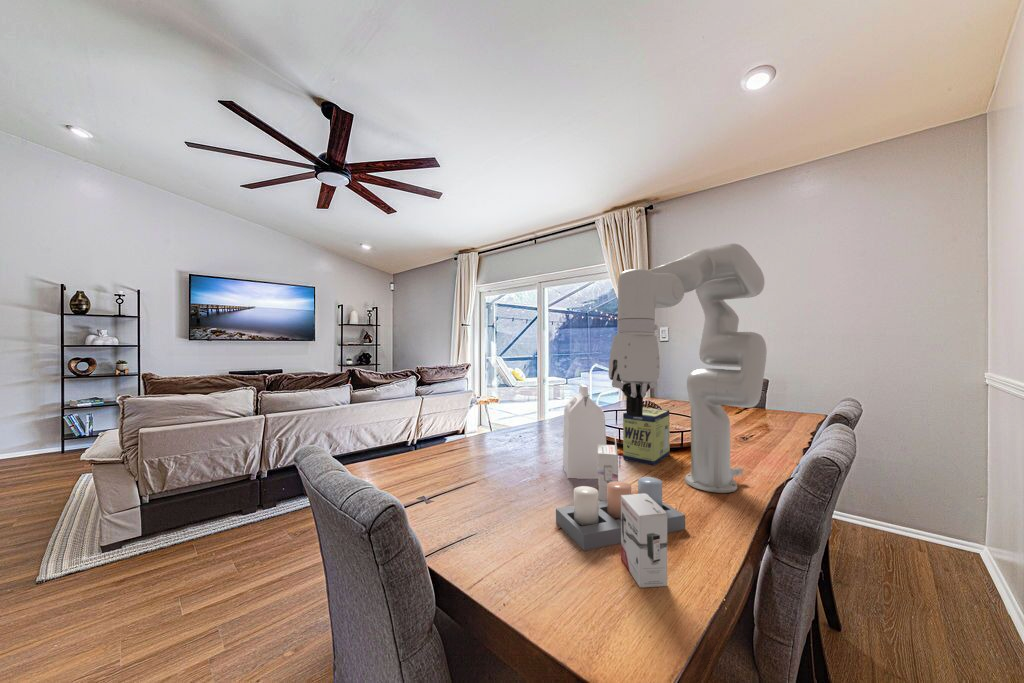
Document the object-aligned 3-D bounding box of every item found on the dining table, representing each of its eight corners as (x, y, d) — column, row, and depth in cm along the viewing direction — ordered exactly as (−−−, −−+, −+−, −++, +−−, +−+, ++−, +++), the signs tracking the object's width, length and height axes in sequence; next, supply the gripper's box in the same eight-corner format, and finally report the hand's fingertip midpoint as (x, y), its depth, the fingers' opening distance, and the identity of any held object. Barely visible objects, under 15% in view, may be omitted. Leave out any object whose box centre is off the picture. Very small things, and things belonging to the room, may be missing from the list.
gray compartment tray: (647, 505, 90) (646, 493, 90) (685, 529, 78) (685, 514, 78) (555, 522, 82) (555, 508, 82) (583, 551, 71) (583, 535, 71)
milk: (608, 478, 108) (607, 387, 108) (567, 478, 108) (567, 388, 108) (598, 464, 120) (598, 383, 120) (562, 465, 120) (562, 383, 120)
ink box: (619, 557, 68) (619, 493, 68) (645, 556, 69) (645, 492, 69) (639, 589, 60) (639, 515, 60) (669, 587, 60) (668, 513, 60)
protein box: (622, 459, 125) (622, 412, 125) (640, 449, 137) (640, 406, 137) (654, 466, 118) (654, 416, 118) (670, 454, 130) (670, 409, 130)
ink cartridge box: (597, 487, 101) (596, 432, 101) (616, 488, 100) (616, 433, 100) (598, 500, 93) (597, 441, 93) (618, 502, 92) (618, 442, 92)
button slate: (651, 502, 86) (651, 475, 86) (667, 511, 81) (667, 483, 81) (633, 505, 84) (633, 478, 84) (648, 514, 80) (648, 486, 80)
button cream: (590, 512, 81) (590, 484, 81) (603, 523, 76) (603, 493, 76) (569, 516, 79) (569, 488, 79) (581, 527, 74) (581, 497, 74)
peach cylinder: (622, 507, 83) (621, 480, 83) (636, 517, 79) (636, 488, 79) (602, 510, 82) (602, 483, 82) (616, 521, 77) (615, 491, 77)
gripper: (651, 331, 86) (650, 411, 85) (595, 328, 81) (593, 414, 80) (676, 329, 79) (675, 417, 78) (616, 326, 74) (615, 420, 73)
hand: (634, 415), depth 79 cm, fingers closed
